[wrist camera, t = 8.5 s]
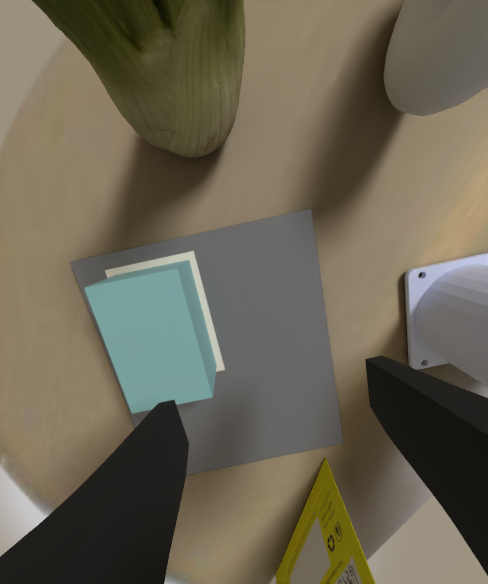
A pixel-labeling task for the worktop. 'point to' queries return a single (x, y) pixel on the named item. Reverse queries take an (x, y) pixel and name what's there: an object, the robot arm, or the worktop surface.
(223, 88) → the fennel bulb
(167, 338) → the card box
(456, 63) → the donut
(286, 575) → the food package
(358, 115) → the worktop surface
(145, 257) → the mat
